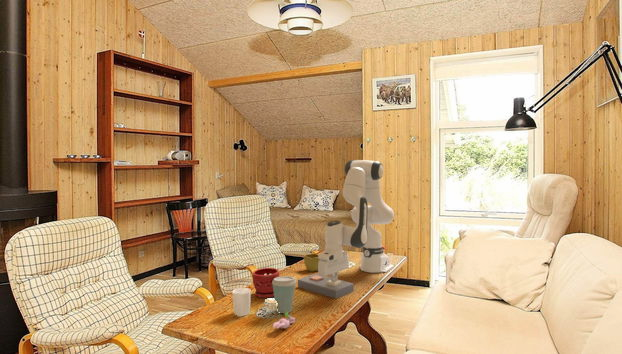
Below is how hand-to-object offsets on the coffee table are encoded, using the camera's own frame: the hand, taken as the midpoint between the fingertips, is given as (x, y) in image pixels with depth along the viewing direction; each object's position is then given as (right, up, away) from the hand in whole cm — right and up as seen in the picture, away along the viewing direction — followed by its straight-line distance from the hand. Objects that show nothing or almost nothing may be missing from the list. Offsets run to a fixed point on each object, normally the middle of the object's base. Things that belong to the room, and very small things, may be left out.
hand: (334, 280), depth 189 cm
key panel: (-4, -6, +4) cm, 8 cm away
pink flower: (-22, -8, -41) cm, 47 cm away
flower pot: (-10, -5, +39) cm, 41 cm away
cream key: (0, -3, 0) cm, 3 cm away
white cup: (-42, -7, -26) cm, 50 cm away
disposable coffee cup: (-23, -7, -24) cm, 34 cm away
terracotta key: (-9, -4, +8) cm, 13 cm away
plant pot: (-34, -6, -4) cm, 35 cm away
